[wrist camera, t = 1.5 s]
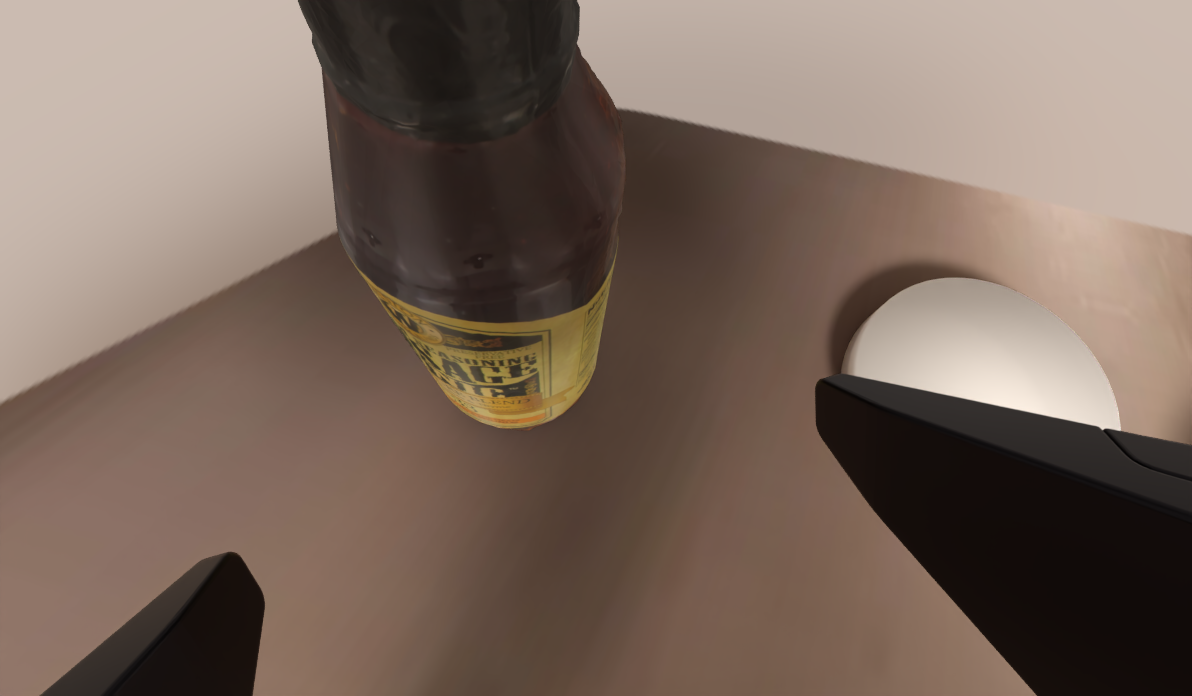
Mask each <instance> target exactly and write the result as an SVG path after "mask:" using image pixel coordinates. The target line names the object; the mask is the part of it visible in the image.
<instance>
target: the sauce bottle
mask: <svg viewBox="0 0 1192 696" xmlns="http://www.w3.org/2000/svg"><path fill="white" fill-rule="evenodd" d="M298 2H299V5H300V8H301V10H302V13H303V15H304V17H305V19H306V21H307V24H308V26H309V28H310V30H311V31H312V44H313V46H314V49H315V51H316V54H317V57H318V59H319V62H320V64H321V67H322V75H323V87H324V97H325V108H326V118H327V129H328V139H329V150H330V160H331V169H332V180H333V189H334V199H335V210H336V220H337V228H338V234H339V238H340V240H341V243H342V245H343V247H344V249H345V251H346V253H347V255H348V256H349V258H350V259H351V261H352V262H353V264H354V265H355V267H356V268H357V270H358V272H359V274H360V275H361V276H362V277H363V278H364V279H365V281H366V282H367V283H368V285H369V287H370V288H371V290H372V291H373V292H374V294H375V295H376V296H377V298H378V299H379V301H380V302H381V304H382V305H383V307H384V308H385V310H386V311H387V312H388V314H389V316H390V318H391V320H392V321H393V323H394V324H395V325H396V326H397V327H398V329H399V331H400V332H401V333H402V334H403V336H404V337H405V339H406V340H407V342H408V343H409V344H410V346H411V347H412V348H413V350H414V351H415V352H416V354H417V355H418V357H419V358H420V360H421V361H422V362H423V363H424V365H425V366H426V367H427V369H428V370H429V372H430V373H431V374H432V376H433V377H434V379H435V380H436V382H437V383H438V384H439V386H440V387H441V389H442V390H443V391H444V393H445V394H446V395H447V397H448V398H449V399H450V400H451V401H452V402H453V403H454V405H456V406H457V407H458V408H459V409H460V410H461V411H463V412H464V413H465V414H467V415H469V416H470V417H472V418H474V419H475V420H478V421H479V422H481V423H485V424H488V425H492V426H495V427H497V428H504V429H513V430H531V429H532V428H534V427H536V426H539V425H542V424H544V423H547V422H549V421H552V420H554V419H555V418H557V417H558V416H559V415H562V414H563V413H564V412H565V411H567V410H568V409H569V408H570V407H572V406H573V405H574V404H575V403H576V402H577V401H578V400H579V398H580V397H581V395H582V393H583V391H584V390H585V389H586V387H587V385H588V384H589V382H590V379H591V377H592V375H593V372H594V370H595V367H596V361H597V354H598V348H599V343H600V338H601V331H602V326H603V320H604V315H605V310H606V305H607V300H608V294H609V289H610V283H611V278H612V274H613V269H614V263H615V258H616V254H617V248H618V233H619V232H618V217H619V216H620V214H621V212H622V203H623V193H624V187H625V181H626V169H625V166H626V155H625V151H624V134H623V130H622V120H621V117H620V116H619V114H618V111H617V109H616V107H615V105H614V103H613V101H612V99H611V97H610V96H609V94H608V92H607V91H606V89H605V88H604V86H603V85H602V83H601V82H600V81H599V79H598V78H597V77H596V75H595V73H594V72H593V71H592V70H591V67H590V66H589V64H588V63H587V61H586V60H585V59H584V58H583V57H582V55H581V52H580V49H579V47H578V45H577V40H578V36H579V12H580V7H579V4H578V2H577V0H298Z"/></svg>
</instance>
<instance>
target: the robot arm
mask: <svg viewBox="0 0 1192 696" xmlns="http://www.w3.org/2000/svg"><path fill="white" fill-rule="evenodd" d="M815 406H816V426H817V430H818V432H819V435H820V436H821V438H822V440H823V441H824V442H825V444H826V445H827V447H828V448H829V449H830V451H831V452H832V454H833V455H834V456H835V458H836V459H837V461H838V462H839V463H840V465H841V466H842V468H843V469H844V470H845V472H846V473H847V475H848V476H849V477H850V479H851V480H852V482H853V483H854V484H855V486H856V487H857V489H858V490H859V491H860V493H861V494H862V496H863V497H864V498H865V500H866V501H867V502H868V504H869V505H870V506H871V508H872V509H873V510H874V511H875V513H876V514H877V515H878V516H879V517H880V519H881V520H882V521H883V522H884V523H885V524H886V525H887V527H888V528H889V529H890V530H891V531H892V532H893V533H894V535H895V536H896V537H897V538H898V539H899V540H900V541H901V542H902V544H903V545H904V546H905V547H906V548H907V549H908V550H909V551H910V553H911V554H912V555H913V556H914V557H915V558H916V559H917V561H918V562H919V563H920V564H921V565H922V566H923V567H924V568H925V570H926V571H927V572H928V573H929V574H930V575H931V576H932V577H933V579H934V580H935V581H936V582H937V583H938V584H939V585H940V587H941V588H942V589H943V590H944V591H945V592H946V593H947V594H948V596H949V597H950V598H951V599H952V600H953V601H954V602H955V603H956V605H957V606H958V607H959V608H960V609H961V610H962V611H963V613H964V614H965V615H966V616H967V617H968V618H969V619H970V620H971V622H972V623H973V624H974V625H975V626H976V627H977V628H978V629H979V631H980V632H981V633H982V634H983V635H984V636H985V637H986V639H987V640H988V641H989V642H990V643H991V644H992V645H993V646H994V648H995V649H996V650H997V651H998V652H999V653H1000V654H1001V655H1002V657H1003V658H1004V659H1005V660H1006V661H1007V662H1008V663H1009V665H1010V666H1011V667H1012V668H1013V669H1014V670H1015V671H1016V672H1017V674H1018V675H1019V676H1020V677H1021V678H1022V679H1023V680H1024V681H1025V683H1026V684H1027V685H1028V686H1029V687H1030V688H1031V689H1032V691H1033V692H1034V693H1035V694H1036V695H1037V696H1192V445H1188V444H1183V443H1178V442H1173V441H1168V440H1163V439H1158V438H1152V437H1147V436H1142V435H1137V434H1133V433H1128V432H1123V431H1118V430H1114V429H1109V428H1105V429H1103V430H1102V429H1101V428H1100V427H1098V426H1094V425H1089V424H1084V423H1079V422H1074V421H1070V420H1065V419H1060V418H1055V417H1050V416H1046V415H1041V414H1036V413H1031V412H1026V411H1022V410H1017V409H1012V408H1007V407H1002V406H998V405H993V404H988V403H983V402H978V401H974V400H969V399H964V398H959V397H954V396H950V395H945V394H940V393H935V392H930V391H926V390H921V389H916V388H911V387H906V386H901V385H897V384H892V383H887V382H882V381H877V380H873V379H868V378H863V377H858V376H853V375H849V374H843V373H841V374H836V375H833V376H829V377H826V378H823V379H820V380H819V381H818V382H817V384H816V387H815ZM264 610H265V601H264V596H263V593H262V590H261V588H260V587H259V585H258V584H257V582H256V580H255V579H254V577H253V575H252V574H251V572H250V571H249V569H248V567H247V566H246V564H245V562H244V561H243V559H242V558H241V557H240V555H238V554H237V553H235V552H227V553H223V554H220V555H216V556H213V557H209V558H206V559H203V560H201V561H200V562H198V563H197V564H196V565H195V566H193V567H192V568H191V569H190V570H189V571H187V572H186V573H185V574H184V575H183V576H181V577H180V578H179V579H178V580H177V581H175V582H174V583H173V584H172V585H171V586H170V587H168V588H167V589H166V590H165V591H164V592H162V593H161V594H160V595H159V596H158V597H156V598H155V599H154V600H153V601H152V602H151V603H149V604H148V605H147V606H146V607H145V608H143V609H142V610H141V611H140V612H139V613H137V614H136V615H135V616H134V617H133V618H131V619H130V620H129V621H128V622H127V623H126V624H124V625H123V626H122V627H121V628H120V629H118V630H117V631H116V632H115V633H114V634H112V635H111V636H110V637H109V638H108V639H107V640H105V641H104V642H103V643H102V644H101V645H99V646H98V647H97V648H96V649H95V650H93V651H92V652H91V653H90V654H89V655H87V656H86V657H85V658H84V659H83V660H82V661H80V662H79V663H78V664H77V665H76V666H74V667H73V668H72V669H71V670H70V671H68V672H67V673H66V674H65V675H64V676H63V677H61V678H60V679H59V680H58V681H57V682H55V683H54V684H53V685H52V686H51V687H49V688H48V689H47V690H46V691H45V692H43V693H42V694H41V695H40V696H253V689H254V681H255V674H256V667H257V660H258V653H259V646H260V639H261V632H262V624H263V617H264Z"/></svg>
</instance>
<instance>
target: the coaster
mask: <svg viewBox="0 0 1192 696" xmlns="http://www.w3.org/2000/svg"><path fill="white" fill-rule="evenodd" d="M841 373H843V374H849V375H853V376H858V377H863V378H868V379H873V380H877V381H882V382H887V383H892V384H897V385H901V386H906V387H911V388H916V389H921V390H926V391H930V392H935V393H940V394H945V395H950V396H954V397H959V398H964V399H969V400H974V401H978V402H983V403H988V404H993V405H998V406H1002V407H1007V408H1012V409H1017V410H1022V411H1026V412H1031V413H1036V414H1041V415H1046V416H1050V417H1055V418H1060V419H1065V420H1070V421H1074V422H1079V423H1084V424H1089V425H1094V426H1098V427H1100V428H1101V429H1102V430H1103V429H1105V428H1109V429H1114V430H1118V431H1121V426H1120V419H1119V412H1118V408H1117V404H1116V400H1115V396H1114V394H1113V391H1112V389H1111V386H1110V384H1109V381H1108V379H1107V377H1106V375H1105V373H1104V371H1103V369H1102V367H1101V366H1100V364H1099V362H1098V361H1097V359H1096V358H1095V356H1094V355H1093V353H1092V352H1091V350H1090V349H1089V348H1088V347H1087V345H1086V344H1085V343H1084V342H1083V341H1082V339H1081V338H1080V337H1079V336H1078V335H1077V334H1076V333H1075V332H1074V331H1073V330H1072V329H1071V328H1070V327H1069V326H1068V325H1067V324H1066V323H1065V322H1064V321H1063V320H1061V319H1060V318H1059V317H1058V316H1056V315H1055V314H1054V313H1053V312H1052V311H1050V310H1049V309H1047V308H1046V307H1044V306H1043V305H1041V304H1040V303H1038V302H1037V301H1035V300H1033V299H1031V298H1029V297H1027V296H1025V295H1024V294H1022V293H1019V292H1017V291H1015V290H1012V289H1010V288H1008V287H1005V286H1002V285H998V284H995V283H992V282H988V281H983V280H978V279H970V278H940V279H934V280H928V281H925V282H922V283H918V284H915V285H913V286H911V287H908V288H906V289H904V290H902V291H901V292H899V293H898V294H896V295H895V296H893V297H891V298H890V299H889V300H888V301H887V302H886V303H884V304H883V305H882V306H881V307H880V308H879V309H877V310H876V311H875V312H874V313H873V314H872V315H871V316H869V317H868V318H867V319H866V320H865V321H864V322H863V323H862V324H861V326H860V327H859V328H858V329H857V331H856V332H855V334H854V335H853V337H852V339H851V341H850V342H849V344H848V347H847V350H846V352H845V355H844V359H843V363H842V368H841Z"/></svg>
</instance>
